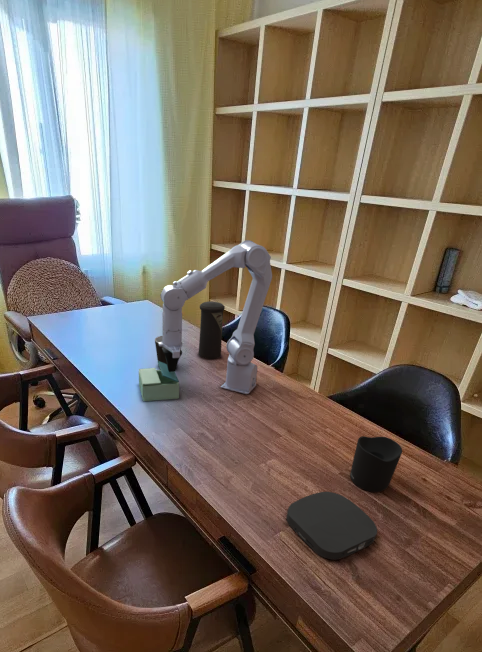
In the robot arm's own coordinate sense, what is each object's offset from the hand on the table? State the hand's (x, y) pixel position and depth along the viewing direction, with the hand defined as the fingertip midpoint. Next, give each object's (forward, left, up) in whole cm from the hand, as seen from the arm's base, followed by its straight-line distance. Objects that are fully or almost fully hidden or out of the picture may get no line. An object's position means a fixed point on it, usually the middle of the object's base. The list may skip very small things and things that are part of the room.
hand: (171, 370), depth 131 cm
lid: (+1, +1, 0) cm, 1 cm away
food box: (+3, +3, -7) cm, 8 cm away
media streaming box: (-58, +36, -7) cm, 68 cm away
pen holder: (-63, +16, -7) cm, 65 cm away
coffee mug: (+10, -17, -7) cm, 21 cm away
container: (+2, -33, -7) cm, 34 cm away
